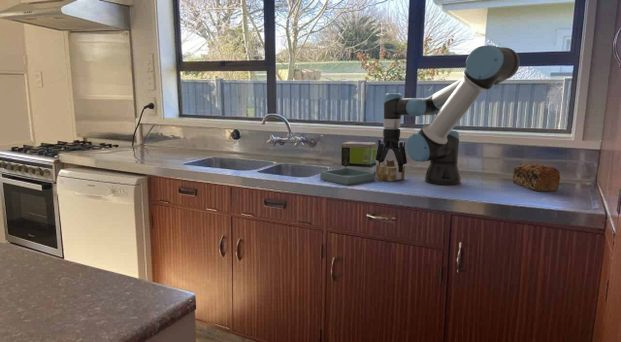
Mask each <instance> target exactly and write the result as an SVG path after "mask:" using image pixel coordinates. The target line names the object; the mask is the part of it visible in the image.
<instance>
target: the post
mask: <svg viewBox="0 0 621 342" xmlns="http://www.w3.org/2000/svg"><path fill="white" fill-rule="evenodd" d="M385 164H387V166H388V167H394V165H396V164H395V159H386V162H385Z"/></svg>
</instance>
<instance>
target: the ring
mask: <svg viewBox="0 0 621 342" xmlns="http://www.w3.org/2000/svg"><path fill="white" fill-rule="evenodd" d="M396 166H397V164H395V165H394V167H388V166H387V163H385V164H384V165H379V164H376V171H375V174H376V175H375V176H376V177H375V178H376V180H377V179H378V181H380V182H383V181H388V182H395V181H397V180H396ZM405 168H406V166H405V165H403V172H401V179H399V180H398V181H401V180H405V176H406V175H405V174H406V173H405V172H406V170H405Z"/></svg>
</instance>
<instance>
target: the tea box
mask: <svg viewBox="0 0 621 342" xmlns="http://www.w3.org/2000/svg"><path fill="white" fill-rule="evenodd" d="M340 145H341V147H340V148H341V151H340V152H341V156H340V160H341V162H340V164H341V165H340V166H341V168H340V169H343V168H350V169H355V170H360V171H366V172H371V173H376V166H377V160H376V154H377V142H368V141H367V142H365V141H364V142H363V141H362V142H361V141H346V142H342V143H341V144H340Z"/></svg>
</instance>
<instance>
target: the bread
mask: <svg viewBox="0 0 621 342" xmlns="http://www.w3.org/2000/svg"><path fill="white" fill-rule="evenodd" d="M512 173H513V175H512V182H513V184H516V185H517V186H520V187H522V188H526V189H529V190H530V191H531V190H532V191H536V192H557V191H558V189H559V186H560V180H561V175H560V171H559V170H558V169H557V168H556V167H554V166H551V165H546V164H539V163H531V162H523V163H521V162H520V163H519V164H518V165H516V166H515V167H514V168H513V169H512Z"/></svg>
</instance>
